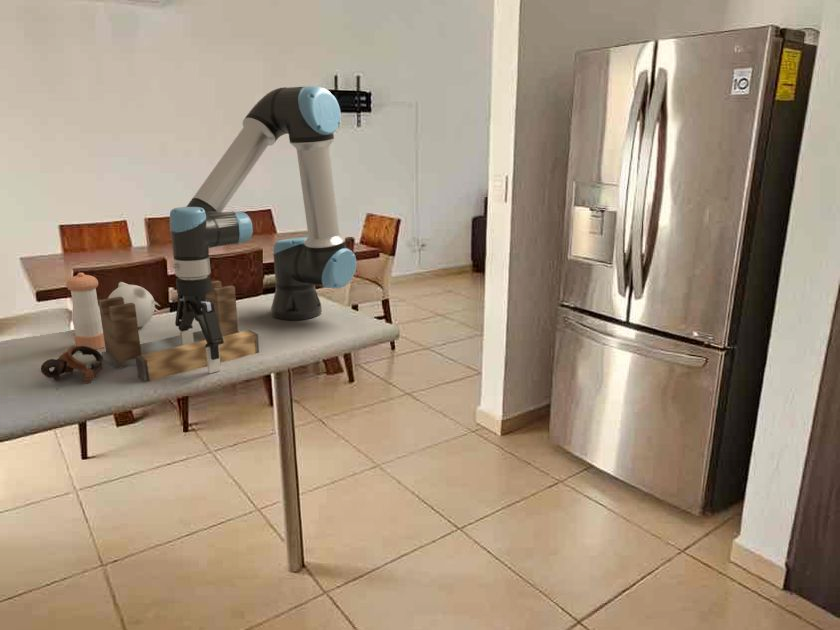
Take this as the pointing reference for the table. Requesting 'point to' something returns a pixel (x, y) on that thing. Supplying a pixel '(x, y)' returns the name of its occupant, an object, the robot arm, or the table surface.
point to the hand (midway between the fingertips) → (201, 363)
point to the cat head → (137, 301)
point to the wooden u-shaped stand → (126, 342)
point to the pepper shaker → (86, 311)
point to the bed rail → (194, 356)
